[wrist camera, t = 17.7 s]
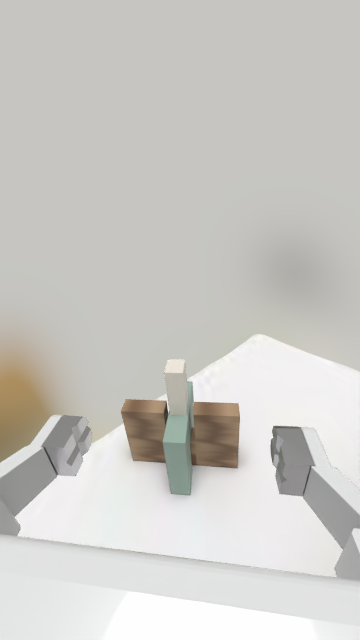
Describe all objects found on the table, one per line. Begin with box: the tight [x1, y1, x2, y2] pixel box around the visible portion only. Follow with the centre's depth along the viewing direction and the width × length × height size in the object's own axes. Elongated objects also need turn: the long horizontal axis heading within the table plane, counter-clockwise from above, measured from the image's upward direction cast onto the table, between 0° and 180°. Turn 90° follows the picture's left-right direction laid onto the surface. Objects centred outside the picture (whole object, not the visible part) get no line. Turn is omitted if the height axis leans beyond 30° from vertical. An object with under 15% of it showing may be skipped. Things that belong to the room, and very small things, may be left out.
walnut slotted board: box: [121, 399, 240, 468], centre depth 41 cm, size 18×2×12 cm, turn 83°
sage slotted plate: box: [163, 359, 194, 495], centre depth 39 cm, size 3×12×20 cm, turn 173°
